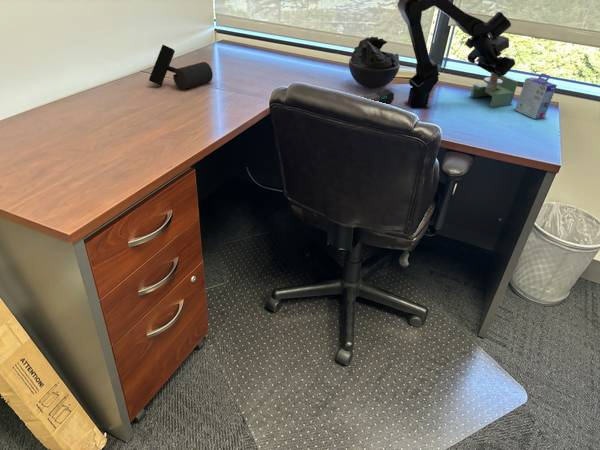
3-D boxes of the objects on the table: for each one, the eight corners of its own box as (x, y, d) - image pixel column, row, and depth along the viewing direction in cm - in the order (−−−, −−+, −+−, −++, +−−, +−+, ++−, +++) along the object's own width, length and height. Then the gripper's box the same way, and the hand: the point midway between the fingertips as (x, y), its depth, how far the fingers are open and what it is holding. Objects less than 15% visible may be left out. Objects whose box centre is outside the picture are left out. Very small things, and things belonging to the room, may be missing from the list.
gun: (396, 110, 168) (392, 85, 162) (347, 132, 166) (341, 108, 160) (390, 106, 171) (386, 81, 165) (342, 127, 170) (336, 103, 163)
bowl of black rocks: (378, 77, 200) (384, 31, 189) (405, 93, 186) (414, 43, 175) (337, 82, 193) (342, 34, 182) (362, 98, 178) (369, 47, 167)
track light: (217, 69, 185) (170, 47, 183) (212, 62, 171) (161, 38, 169) (203, 105, 187) (156, 84, 185) (196, 101, 173) (145, 78, 171)
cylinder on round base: (487, 95, 177) (496, 62, 170) (477, 89, 183) (486, 57, 176) (502, 95, 179) (512, 62, 172) (492, 89, 184) (501, 57, 177)
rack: (491, 107, 177) (498, 84, 172) (470, 96, 186) (476, 74, 181) (510, 104, 181) (518, 81, 176) (488, 94, 190) (495, 72, 184)
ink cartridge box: (545, 117, 171) (560, 78, 163) (535, 119, 169) (549, 80, 161) (524, 108, 178) (537, 70, 170) (514, 110, 176) (526, 71, 168)
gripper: (520, 35, 159) (532, 65, 170) (481, 23, 173) (495, 52, 183) (496, 60, 161) (509, 89, 171) (460, 46, 174) (474, 73, 185)
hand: (497, 75), depth 178 cm, fingers closed on cylinder on round base, 3 cm apart
